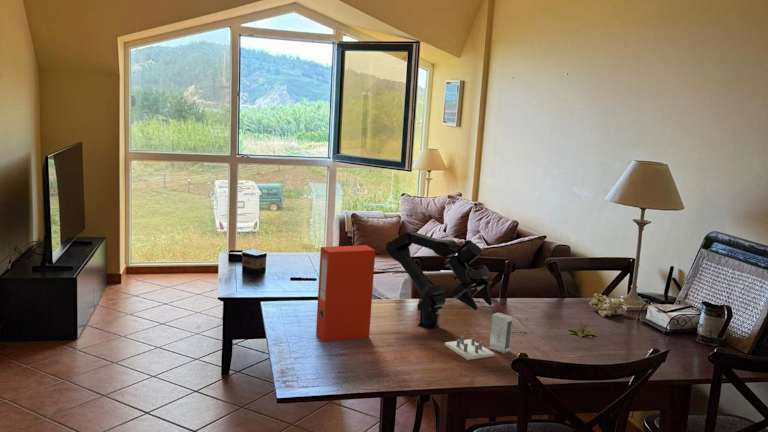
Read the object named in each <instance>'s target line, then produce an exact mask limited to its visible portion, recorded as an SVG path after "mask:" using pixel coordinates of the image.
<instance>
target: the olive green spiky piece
mask: <svg viewBox="0 0 768 432" xmlns="http://www.w3.org/2000/svg"><path fill="white" fill-rule="evenodd" d="M579 324H580V326H578V327H573V328H569V331H570V332H568V334H570V335H571V334H572V335H578V337H579V338H581V337H583V336H584V337H587V338H589V339H593V336H596V337H597V336H598V335H597V334H596V333H597V331H593V330H589V325H590V323H589V322H588V323H587V324H585V322H584V323H583V324H582V322H579Z"/></svg>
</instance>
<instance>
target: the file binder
mask: <svg viewBox="0 0 768 432" xmlns="http://www.w3.org/2000/svg"><path fill="white" fill-rule="evenodd" d="M319 255H320V256H319V272H318V273H319V275H318V291H317V307H316V308H317V309H316V326H315V335H316V336H317V337H318V338H319V339H320V340H321V341H322V342H323V343H328V342H338V341H344V340H345V341H347V340H355V339H356V340H358V339H364V338H369V337H370V330H371V328H370V327H371V318H372V303H373V301H372V300H373V290H374V289H373V288H374V274H375V261H376V260H375V259H376V249H374V248H372V247H370V246H369V245H366V244H364V245H342V246H341V245H340V246H320V254H319Z"/></svg>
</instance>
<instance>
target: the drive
mask: <svg viewBox="0 0 768 432" xmlns="http://www.w3.org/2000/svg"><path fill="white" fill-rule="evenodd" d="M513 319H514V318H513V316H512V315H509V314H508V315H507V314H505V313H501V312H496V313H493V314H492V319H491V325H490V326H491V328H490V338H489V347H488V348H489V349H491V350H493V351H496V352H499V353H501V352H502V354H505V353H506V354H507V353H508V352H510V349H511V347H510V346H511V337H512V328H513Z"/></svg>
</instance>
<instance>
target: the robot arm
mask: <svg viewBox="0 0 768 432" xmlns="http://www.w3.org/2000/svg"><path fill="white" fill-rule="evenodd" d="M413 244H414V245H416V246H419V247H423V248H426V249H429V250H431V251H432V252H434V253H435V255H438V256H439V257H441V258H445V259H444V262H443V268H446V267H449V268H450V269H451V271H452V273H453V275H454V277H453V279H454V280H455V281H458V285H456V286H455V287H454V288H453V289H451V290H450V296H451V297H452V299H456V300H458V301H460V302H462V303H463V304H465V305H466V306H468V307H470V308H471V309H473V310H474V311H477V310H478V309H479V307H478V306H477V304H476V302H475V301H476V300H474V298H473V296H472V290H474V291H475V292H476V294H477V295H478V296H479V297H480V298H481V300H483V301H484V302H486V305H487V304H488V305H489V306H492V305H493V301H492V299H491V294H490V286H491V285H492V283H493V281H492V279H491V277H489V275H488V274H489V272H490V269H489V268H488V267H487V265H485V264H484V265H481V266H480V265H479V267H478V269H475V270H474V268H473V267H469V266H468V264H469V265H470V264H471V263H472V262H473V261H475V260H476V259H477V258H478V257H480V255H481V254H482V249H481V247H480V246H479V245H477V244H476V243H475V242H473V241H472V240H471V239H469V240H466V241H465V242H464V243H463V244H461V245H460V244H458V243H457V242H456V240H453V239H447V238H446V239H439V238H435V237H432V236H429V235H425V234H423V233H419V232H416V231H414V230H409V231H405V232H403V233H402V234H401V235H399V236H398V237H395V238H394V239H393V240H389V241H387V243H386V245H385V251H386V253H387V255H388V256H389V257H390V258H391V259H393V260H394V261H396V262H397V263H399V264H400V265H401V266H402V268H403V269H404V271H405V272H406V273H407V275H408V276H409V277H410V279H411V281H412V282H413V283H414V284H415V286H416V287H417V289H418V290H419V292H420V299H421V301H420V302H419V303H417V310H418V311H420V316H419V323H418V324H417V326H419V327H422V328H423V327H424V328H428V329H433V330H434V329H435V328H436V327H438V326H439V325H440V316H441V315H440V313H439V312H440V311H439V310H442V309H443V306H444V305H445V303H446V301H447V300H446V299H447V297H446V294H445V293H446V292H445V291H444V290H443V288H442V287H441V285H439V284H432V283H431V281H430V280H429V279H428V278H427V277H426V275H425V274H424V272H423V271H422V270H421V268H420V267H419V266H418V264H417V263H416V262H415V260H414V259H413V258H412V256H411V252H410V247H411V246H412V245H413ZM446 257H447V259H446ZM448 257H450V258H448Z"/></svg>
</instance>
